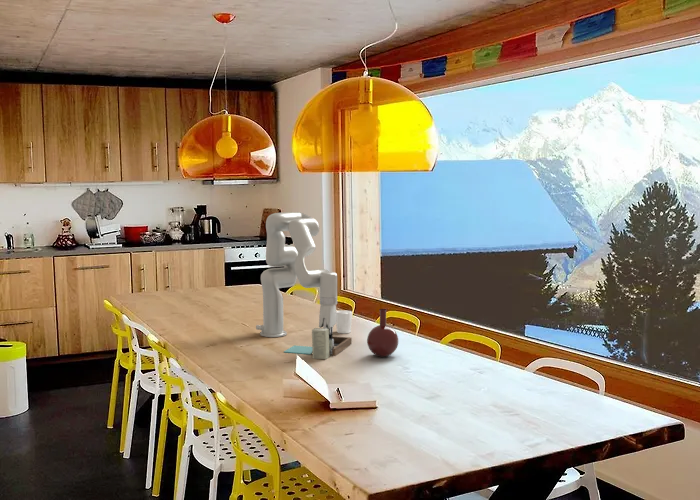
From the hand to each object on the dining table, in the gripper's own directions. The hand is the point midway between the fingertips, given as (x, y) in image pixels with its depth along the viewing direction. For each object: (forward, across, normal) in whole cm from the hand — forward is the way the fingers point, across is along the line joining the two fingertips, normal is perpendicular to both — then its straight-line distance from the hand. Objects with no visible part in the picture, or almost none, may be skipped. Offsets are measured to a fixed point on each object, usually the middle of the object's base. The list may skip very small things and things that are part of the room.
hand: (328, 342), depth 323 cm
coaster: (+4, 0, -12) cm, 13 cm away
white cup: (+4, -40, -6) cm, 41 cm away
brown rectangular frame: (+4, -5, 0) cm, 7 cm away
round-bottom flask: (+4, 0, +24) cm, 24 cm away
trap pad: (+4, -14, 0) cm, 14 cm away
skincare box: (+4, +10, 0) cm, 11 cm away
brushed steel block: (+4, +5, 0) cm, 6 cm away
